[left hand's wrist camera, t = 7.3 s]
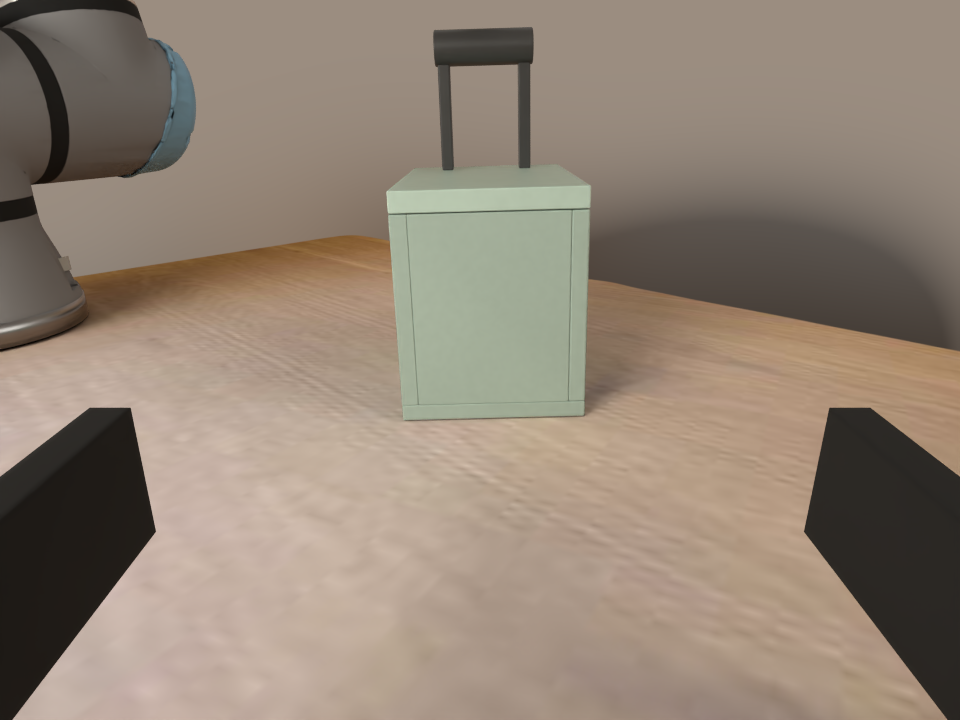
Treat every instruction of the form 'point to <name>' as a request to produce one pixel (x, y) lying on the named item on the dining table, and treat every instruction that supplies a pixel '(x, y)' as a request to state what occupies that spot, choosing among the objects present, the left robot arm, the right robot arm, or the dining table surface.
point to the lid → (486, 183)
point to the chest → (491, 312)
